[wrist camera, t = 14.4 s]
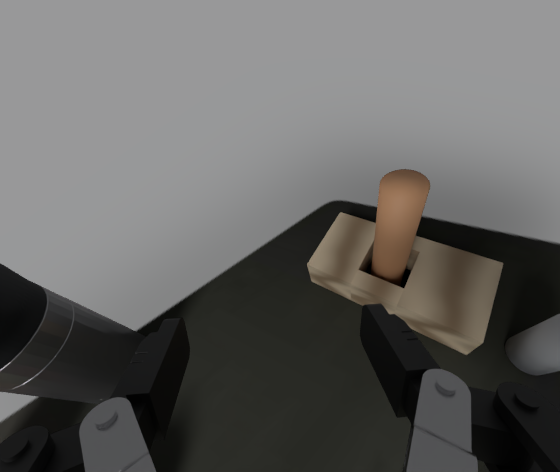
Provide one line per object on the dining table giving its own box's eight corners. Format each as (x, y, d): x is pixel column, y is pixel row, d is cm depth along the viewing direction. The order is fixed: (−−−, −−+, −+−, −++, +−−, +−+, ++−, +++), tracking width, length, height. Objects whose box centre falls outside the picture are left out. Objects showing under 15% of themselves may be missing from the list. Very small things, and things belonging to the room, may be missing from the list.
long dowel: (365, 285, 37) (372, 194, 23) (376, 263, 39) (389, 165, 25) (394, 297, 35) (421, 207, 21) (405, 274, 37) (436, 175, 23)
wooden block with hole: (311, 281, 39) (307, 264, 36) (341, 232, 43) (340, 212, 40) (466, 354, 30) (483, 342, 26) (486, 283, 34) (503, 263, 30)
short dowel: (509, 370, 28) (571, 351, 21) (501, 332, 30) (555, 303, 23) (556, 379, 27) (638, 363, 20) (544, 339, 29) (615, 311, 22)
